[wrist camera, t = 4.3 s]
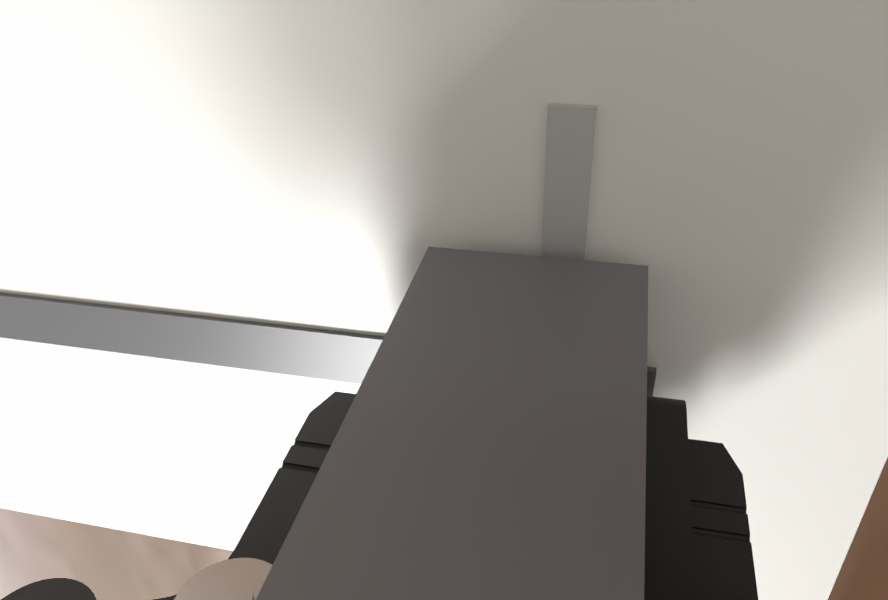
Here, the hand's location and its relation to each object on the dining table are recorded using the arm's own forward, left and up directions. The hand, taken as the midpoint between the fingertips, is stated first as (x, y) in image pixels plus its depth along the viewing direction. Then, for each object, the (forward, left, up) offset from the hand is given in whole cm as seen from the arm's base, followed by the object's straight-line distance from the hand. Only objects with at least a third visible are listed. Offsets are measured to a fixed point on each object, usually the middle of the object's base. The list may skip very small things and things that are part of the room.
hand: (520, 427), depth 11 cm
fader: (0, 0, -1) cm, 1 cm away
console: (+7, +7, -4) cm, 10 cm away
